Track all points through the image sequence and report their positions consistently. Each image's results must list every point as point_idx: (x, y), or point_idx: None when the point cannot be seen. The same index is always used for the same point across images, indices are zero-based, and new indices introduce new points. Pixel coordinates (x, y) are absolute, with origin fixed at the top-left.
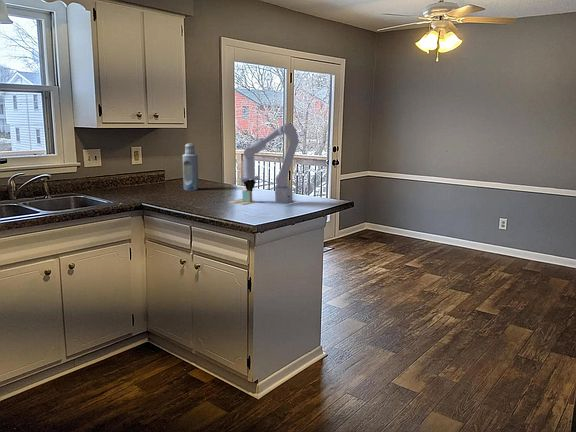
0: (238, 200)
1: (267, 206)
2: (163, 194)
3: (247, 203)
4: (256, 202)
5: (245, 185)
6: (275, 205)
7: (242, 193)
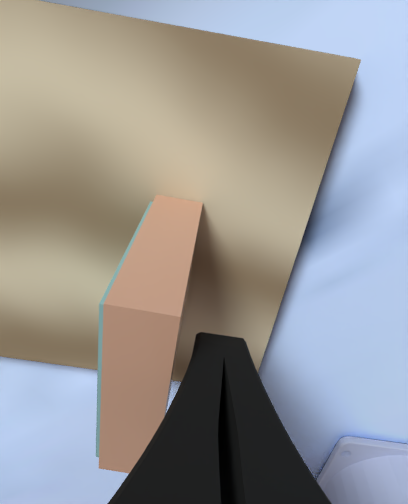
0: (165, 90)
1: None
2: None
3: (57, 337)
4: (179, 379)
5: (117, 501)
6: None
7: (117, 269)
